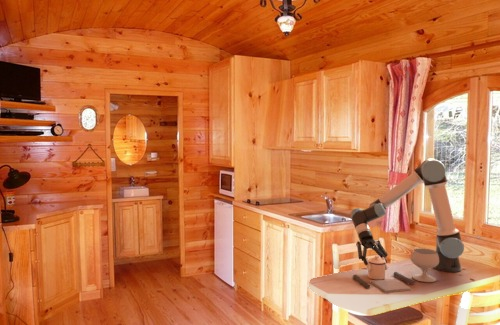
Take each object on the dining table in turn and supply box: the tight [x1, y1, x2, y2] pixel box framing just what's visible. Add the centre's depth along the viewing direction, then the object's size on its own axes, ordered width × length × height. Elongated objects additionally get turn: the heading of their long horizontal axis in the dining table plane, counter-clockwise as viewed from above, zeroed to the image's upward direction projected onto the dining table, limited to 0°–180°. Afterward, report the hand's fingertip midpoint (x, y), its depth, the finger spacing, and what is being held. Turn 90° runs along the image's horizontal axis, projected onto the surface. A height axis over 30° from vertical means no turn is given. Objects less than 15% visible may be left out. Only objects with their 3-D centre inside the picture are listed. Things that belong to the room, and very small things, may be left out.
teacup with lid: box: [367, 255, 386, 280], centre depth 223 cm, size 12×9×12 cm
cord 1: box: [352, 274, 371, 289], centre depth 213 cm, size 15×2×2 cm, turn 13°
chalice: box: [410, 248, 439, 283], centre depth 220 cm, size 14×14×15 cm
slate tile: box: [370, 278, 412, 293], centre depth 209 cm, size 14×14×1 cm
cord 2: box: [393, 271, 414, 286], centre depth 218 cm, size 15×2×2 cm, turn 13°
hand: (378, 269), depth 220 cm, fingers closed on teacup with lid, 9 cm apart
